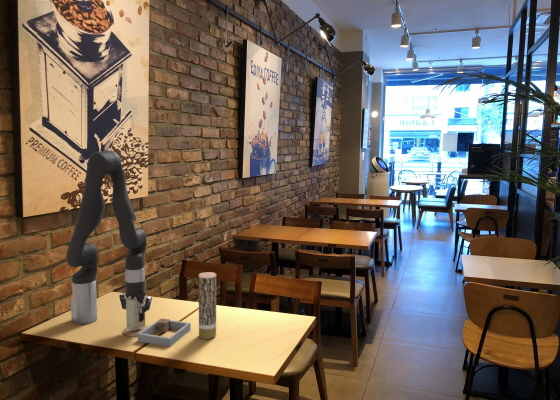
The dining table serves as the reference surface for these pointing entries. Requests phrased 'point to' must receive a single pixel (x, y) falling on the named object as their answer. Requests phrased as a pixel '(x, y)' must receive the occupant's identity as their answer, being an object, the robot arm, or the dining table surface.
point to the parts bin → (160, 340)
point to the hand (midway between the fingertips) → (136, 320)
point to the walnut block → (163, 325)
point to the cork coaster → (133, 331)
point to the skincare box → (133, 315)
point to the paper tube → (207, 305)
